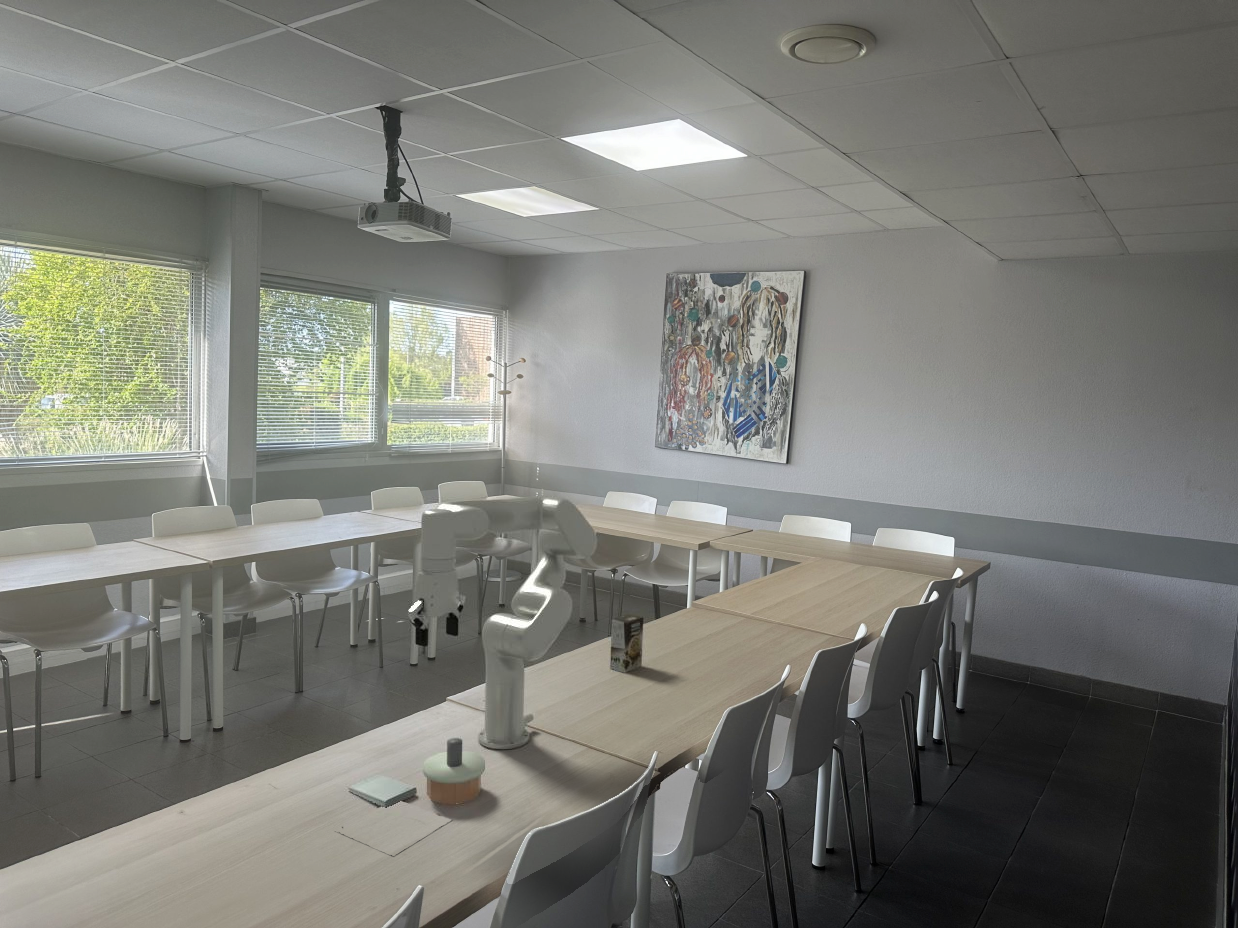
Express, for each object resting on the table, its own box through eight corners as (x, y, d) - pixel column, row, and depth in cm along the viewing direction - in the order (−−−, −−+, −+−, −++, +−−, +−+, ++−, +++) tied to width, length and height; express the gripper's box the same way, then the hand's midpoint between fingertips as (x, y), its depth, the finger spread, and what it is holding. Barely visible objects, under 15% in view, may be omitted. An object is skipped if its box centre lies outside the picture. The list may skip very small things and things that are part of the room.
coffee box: (625, 673, 258) (627, 622, 257) (609, 668, 262) (610, 618, 260) (642, 666, 265) (644, 616, 264) (626, 661, 269) (628, 613, 268)
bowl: (452, 777, 185) (452, 753, 185) (490, 790, 180) (490, 766, 179) (416, 796, 176) (416, 771, 175) (455, 811, 170) (456, 785, 170)
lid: (452, 750, 186) (452, 723, 186) (497, 765, 180) (498, 737, 179) (410, 772, 175) (410, 744, 175) (456, 789, 169) (457, 759, 168)
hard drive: (416, 786, 176) (380, 772, 183) (384, 800, 169) (348, 785, 177) (417, 794, 176) (380, 780, 183) (385, 808, 169) (348, 793, 177)
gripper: (452, 556, 194) (451, 628, 195) (397, 568, 179) (396, 646, 181) (476, 560, 190) (475, 633, 192) (422, 573, 175) (421, 652, 177)
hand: (437, 639), depth 186 cm, fingers open, 9 cm apart
